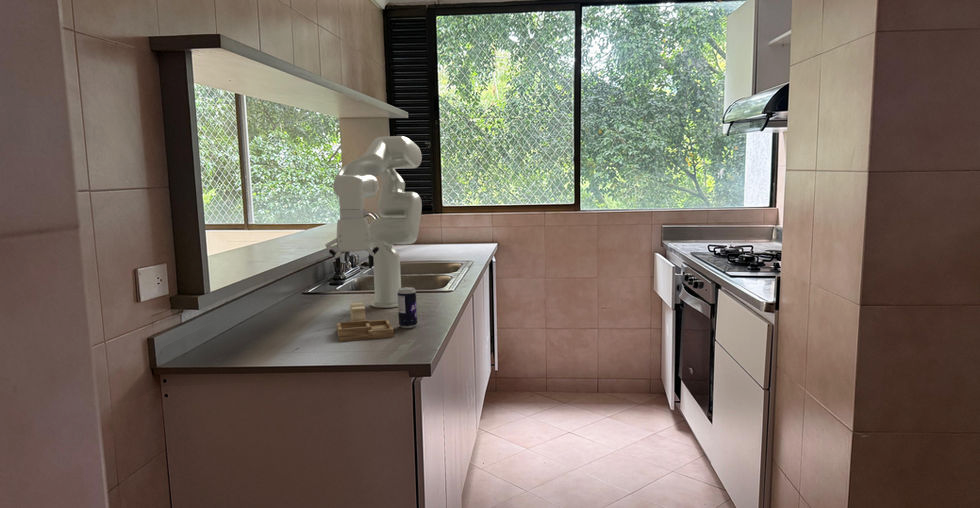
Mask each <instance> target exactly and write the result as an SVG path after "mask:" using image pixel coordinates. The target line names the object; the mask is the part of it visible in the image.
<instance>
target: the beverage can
mask: <svg viewBox="0 0 980 508" xmlns="http://www.w3.org/2000/svg"><path fill="white" fill-rule="evenodd" d="M417 305H418V304H417V291H416V288H415V287H412V286H405V287H401V288H399V291H398V308H397V312H398V325H399V326H400V327H401V328H402V329H413V328H414V327H416V326H417V324H418V307H417Z"/></svg>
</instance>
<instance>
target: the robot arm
mask: <svg viewBox="0 0 980 508" xmlns="http://www.w3.org/2000/svg"><path fill="white" fill-rule="evenodd" d="M422 159H423V155H422V152H421V149H420V147H419V146H418V145H417V144H416V143H415V142H414V141H413V140H411V139H410V138H409V137H406V136H403V135H396V136H395V135H393V136H392V135H391V136H377V137H376V138H374V139H373V140H372V142H371V143H370V145H369V146H368V148H367V150H366V151H365V153H363V155H362V156H361V157H357V158H356V159H354V160H352V161H350V162H348V163H347V164H345V165H344V166H342V167H341V168H340V170H339V171H338V173H337V174H336V176H335V177H334V180H333V184H332V185H333V192H334V194H335V195H336V196H337V197H338V201H339V204H338V205H339V219H338V220H337V221H336V238H333V239H332V240H331V241H329V242H327V243H325V248H326V249H327V251H328V253H329V254H330V255H332V256H333V257H334V259H335V260H334V261H335V269H337V270H338V271H339V272H340V271H342V269H341V268H342V266H341V263H342V262H341V257H340V256H341V254H342V253H343V252H345V253H346V252H348V253H349V252H361V251H362V252H363V251H366V252H367V253H368V256H367V257H368V268H369V270H373V283H374V284H373V285H374V299H373V300H371V302H370V306H371V307H373V308H378V309H379V308H383V309H385V308H386V309H388V308H397V307H398V291H399V288H402V278H401V264H400V263H401V257H400V253H399V251H398V249H397V248H396V247H395V246H394V245H410V244H414V243H416V241H417V239H418V236H419V229H420V223H421V218H422V209H423V208H422V207H423V204H422V203H423V201H422V198H421V196H420V195H419V194H418V193H417V192H415V191H405V188H406V183H405V180H404V179H403V178H402V176H401V175H400V174H399V173H398V172H397V171H396V170H398V169H399V170H400V169H417V168H418V167H419V166H420V165H421V163H422ZM378 176H380V178H381V179H380V180H381V187H380V184H379V180H378V179H377V177H378ZM379 188H380V194H379V197H378V198H379V199H378V202H377V203H378V204H377V212H378V214H379V216H380V217H378V218H377V217H376V218H375V219H373V220H371V221H370V223H369V221H368V219H367V218H365V217H366V216H369V215H370V211H369V210H366V209H365V199H367V198H373V197H375V196H376V195H377V193H378V192H379ZM335 244H336V248H337V250H336V251H335V250H333V248H332V246H333V245H335Z"/></svg>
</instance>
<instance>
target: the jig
mask: <svg viewBox="0 0 980 508" xmlns="http://www.w3.org/2000/svg"><path fill="white" fill-rule="evenodd" d="M336 331H337V332H336V333H337V337H338V341H339V342H340V343H341V342H342V343H343V342H351V341H362V340H373V339H383V338H394V337H395V336H394V328H393V327H392V324H391V322H390V321H389V319H388V318H387V319H378V320H377V319H376V320H369V319H366V320H362V321H351V320H350V321H342V322H341V321H340V322H336Z"/></svg>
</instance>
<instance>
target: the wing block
mask: <svg viewBox="0 0 980 508" xmlns="http://www.w3.org/2000/svg"><path fill="white" fill-rule="evenodd" d="M349 312H350V313H349V314H350V321H362V320H367V319H366V307H365V305H364V303H363V302H350V303H349Z"/></svg>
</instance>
